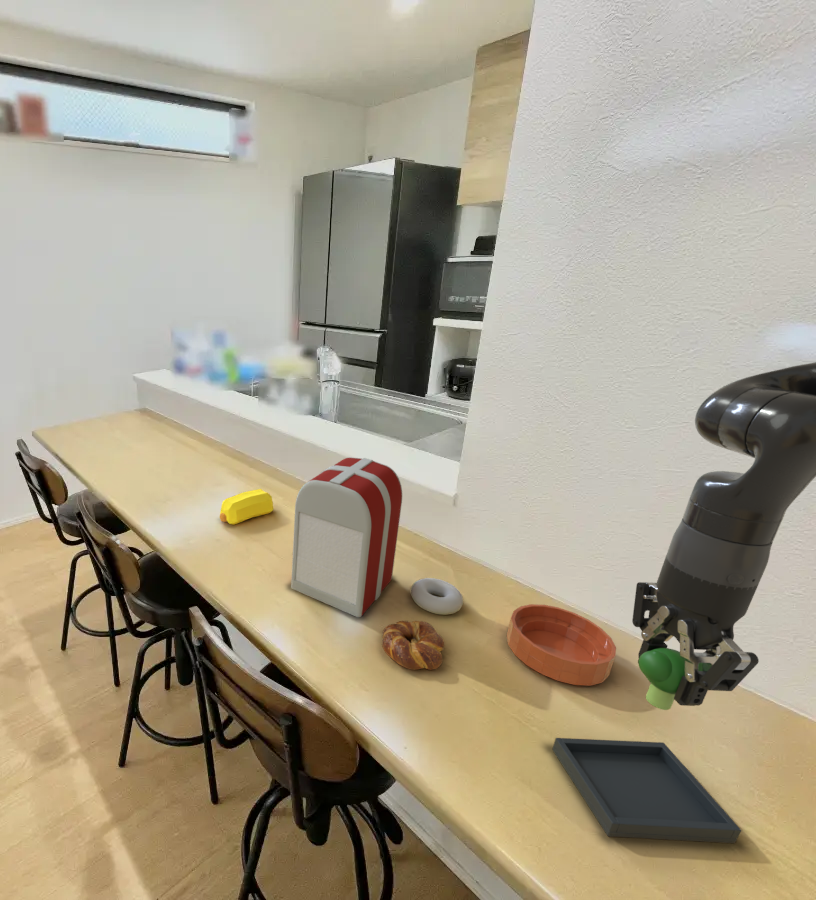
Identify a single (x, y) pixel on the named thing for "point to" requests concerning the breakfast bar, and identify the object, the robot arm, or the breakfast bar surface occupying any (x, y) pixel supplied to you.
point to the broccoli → (663, 675)
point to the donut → (438, 605)
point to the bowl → (561, 644)
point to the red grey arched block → (347, 534)
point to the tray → (643, 791)
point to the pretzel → (413, 644)
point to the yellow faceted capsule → (246, 506)
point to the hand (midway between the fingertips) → (665, 683)
